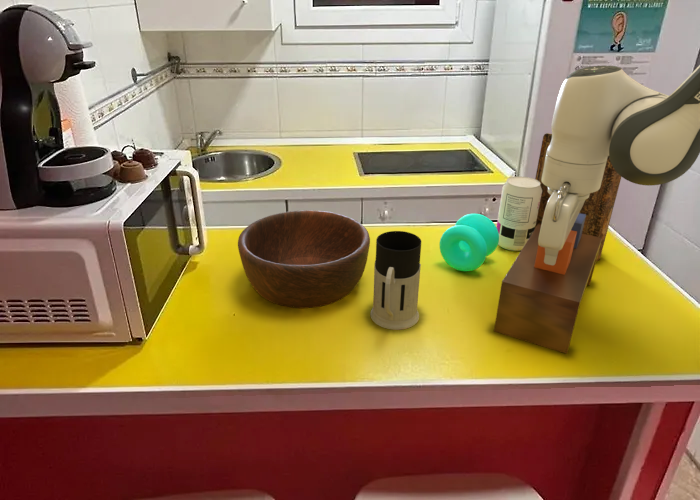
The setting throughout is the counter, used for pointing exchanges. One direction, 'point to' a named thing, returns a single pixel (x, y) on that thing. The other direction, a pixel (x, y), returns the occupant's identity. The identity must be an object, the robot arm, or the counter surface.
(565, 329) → the shelf
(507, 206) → the supplement can
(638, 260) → the counter surface
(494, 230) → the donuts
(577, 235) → the slate-blue box
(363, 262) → the wooden bowl
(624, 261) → the counter surface
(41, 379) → the counter surface
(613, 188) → the book
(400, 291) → the glass holder
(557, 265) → the orange box
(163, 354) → the counter surface
